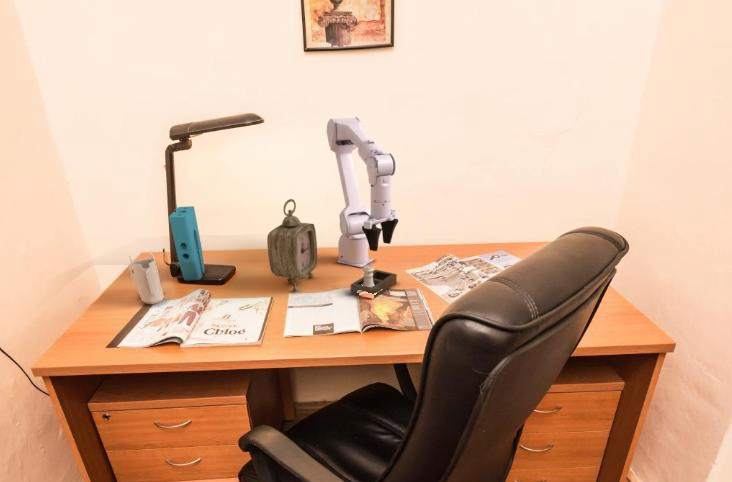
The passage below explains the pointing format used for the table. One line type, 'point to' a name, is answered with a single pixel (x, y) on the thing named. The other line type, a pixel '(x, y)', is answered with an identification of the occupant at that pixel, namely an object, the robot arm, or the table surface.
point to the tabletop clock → (292, 248)
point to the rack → (375, 283)
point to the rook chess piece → (368, 276)
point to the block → (187, 242)
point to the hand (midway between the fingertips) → (380, 246)
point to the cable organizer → (147, 280)
